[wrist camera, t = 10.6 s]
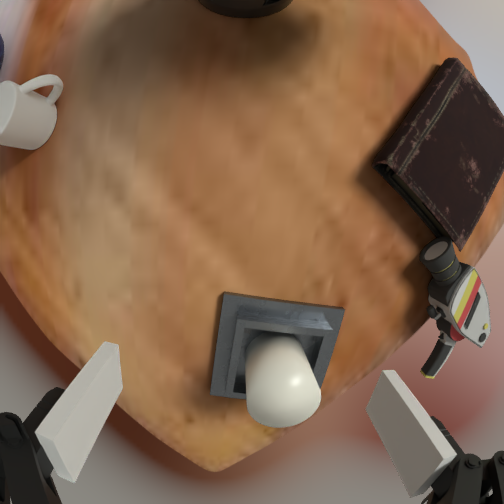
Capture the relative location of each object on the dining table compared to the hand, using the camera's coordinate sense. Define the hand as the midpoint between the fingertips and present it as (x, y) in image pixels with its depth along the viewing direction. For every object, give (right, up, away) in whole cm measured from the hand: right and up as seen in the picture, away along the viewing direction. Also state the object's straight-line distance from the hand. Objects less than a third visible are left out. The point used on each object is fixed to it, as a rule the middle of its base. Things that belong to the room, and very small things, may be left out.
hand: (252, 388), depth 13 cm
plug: (+3, -8, +25) cm, 26 cm away
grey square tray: (+3, -8, +26) cm, 27 cm away
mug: (-31, +27, +19) cm, 45 cm away
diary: (+30, +22, +22) cm, 43 cm away
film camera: (+28, -2, +26) cm, 39 cm away
